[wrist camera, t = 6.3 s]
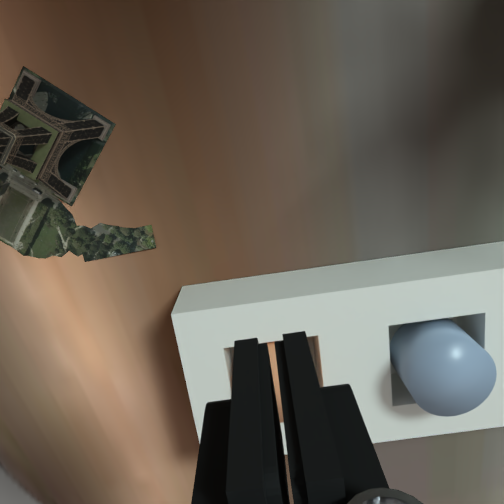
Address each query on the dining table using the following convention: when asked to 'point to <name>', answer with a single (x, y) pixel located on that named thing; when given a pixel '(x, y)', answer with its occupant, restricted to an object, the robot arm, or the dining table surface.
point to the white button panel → (350, 330)
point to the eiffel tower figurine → (53, 174)
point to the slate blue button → (442, 366)
